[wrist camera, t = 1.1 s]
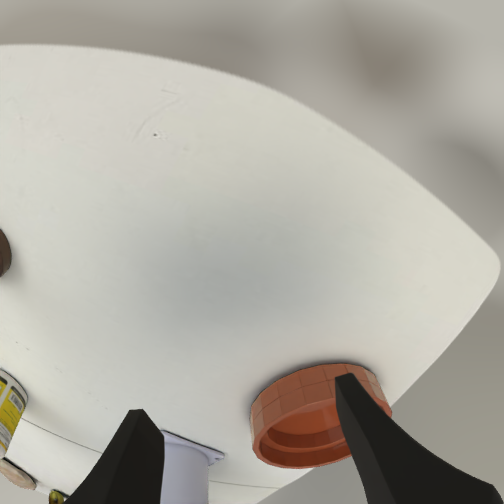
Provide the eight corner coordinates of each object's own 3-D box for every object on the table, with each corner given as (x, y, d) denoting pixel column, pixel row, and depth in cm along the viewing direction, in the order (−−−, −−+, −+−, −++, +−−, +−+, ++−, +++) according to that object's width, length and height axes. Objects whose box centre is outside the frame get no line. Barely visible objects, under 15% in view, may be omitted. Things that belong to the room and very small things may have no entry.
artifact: (16, 490, 35) (-29, 451, 29) (19, 480, 38) (-24, 440, 32) (45, 500, 35) (-2, 462, 29) (48, 489, 38) (4, 449, 32)
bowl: (309, 446, 30) (316, 475, 26) (222, 415, 26) (223, 451, 22) (398, 386, 26) (413, 416, 23) (322, 337, 22) (336, 375, 19)
